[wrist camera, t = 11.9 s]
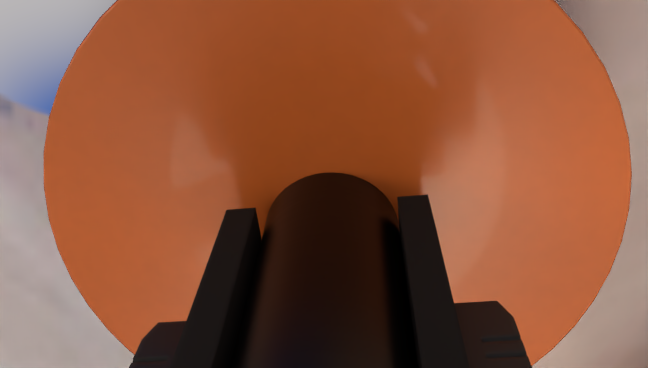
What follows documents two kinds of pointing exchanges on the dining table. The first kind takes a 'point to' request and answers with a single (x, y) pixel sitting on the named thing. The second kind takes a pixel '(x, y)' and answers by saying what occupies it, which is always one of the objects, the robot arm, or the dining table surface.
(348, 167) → the lid
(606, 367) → the dining table surface
